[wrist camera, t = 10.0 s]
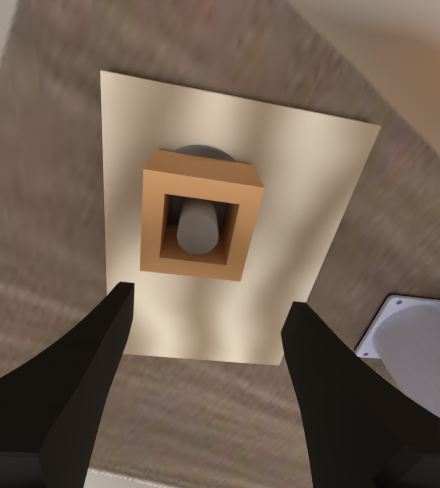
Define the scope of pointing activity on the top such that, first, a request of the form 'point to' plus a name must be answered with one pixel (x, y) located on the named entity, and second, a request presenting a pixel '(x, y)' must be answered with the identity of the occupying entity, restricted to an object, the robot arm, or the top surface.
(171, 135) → the post board
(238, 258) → the collar
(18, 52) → the top surface
